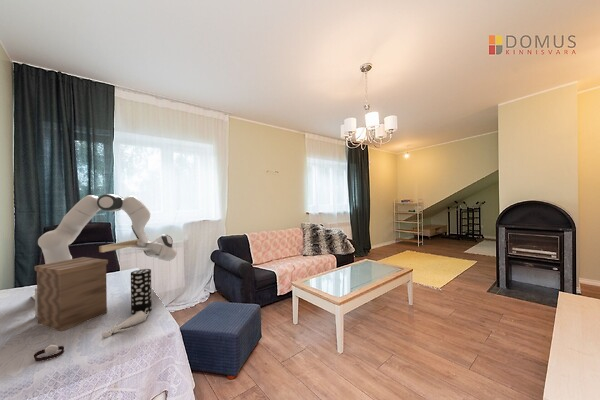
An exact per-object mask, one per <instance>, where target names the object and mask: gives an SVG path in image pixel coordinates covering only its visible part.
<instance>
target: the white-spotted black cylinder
mask: <svg viewBox="0 0 600 400" xmlns="http://www.w3.org/2000/svg"><path fill="white" fill-rule="evenodd" d="M152 298H153V297H152V269H150V268H142V269H141V268H140V269H137V270H134V271H131V272H130V300H131V301H130V310H131V311H130V313H131V316H133V315H134V314H136V313H137V312H139V311H143V312H145V310H146V313H148V311H149V313H151V312H152V310H153V309H152V308H153V307H152V305H153V304H152V303H153V302H152Z"/></svg>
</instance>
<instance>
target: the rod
mask: <svg viewBox="0 0 600 400" xmlns="http://www.w3.org/2000/svg"><path fill="white" fill-rule="evenodd" d="M136 241H140V242H141V239H137V238H136V239H131V240H126V241H119V242H115V243H110V244H105V245H100V246H98V252H99V253H106V252H113V251H117V250H121V249H122V250H123V249H125V248H131V247H132V246H136V245H137V244H135V243H136Z"/></svg>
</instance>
